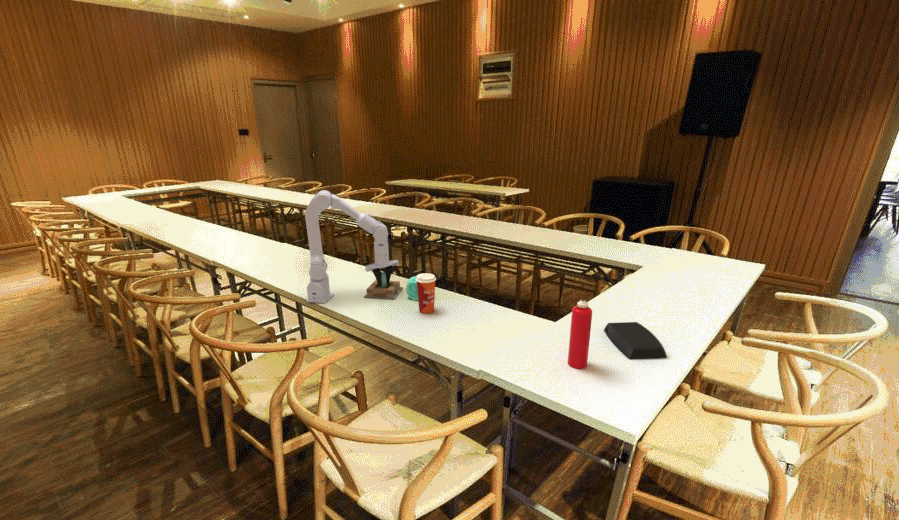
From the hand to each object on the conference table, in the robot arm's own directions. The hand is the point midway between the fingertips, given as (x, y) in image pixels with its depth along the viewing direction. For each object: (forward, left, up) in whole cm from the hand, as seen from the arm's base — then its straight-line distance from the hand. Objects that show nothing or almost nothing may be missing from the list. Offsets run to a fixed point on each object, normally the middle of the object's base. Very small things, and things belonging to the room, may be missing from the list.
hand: (383, 284), depth 176 cm
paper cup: (-15, -22, -4) cm, 27 cm away
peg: (0, 0, -2) cm, 2 cm away
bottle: (-46, -74, -4) cm, 87 cm away
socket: (0, 0, -4) cm, 4 cm away
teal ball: (-2, -16, -4) cm, 17 cm away
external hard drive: (-30, -93, -5) cm, 98 cm away
